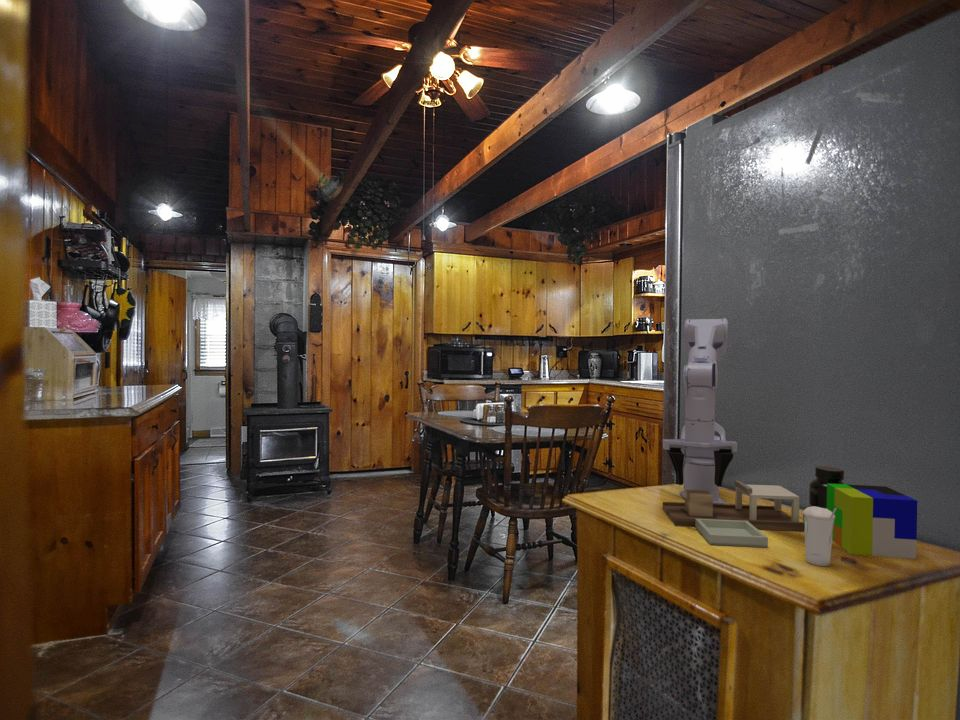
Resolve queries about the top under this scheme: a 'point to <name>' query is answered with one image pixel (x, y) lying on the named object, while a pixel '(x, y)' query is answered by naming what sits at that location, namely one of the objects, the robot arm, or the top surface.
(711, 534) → the sage tray
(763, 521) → the board
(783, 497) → the cover
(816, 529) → the milkshake
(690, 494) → the maple block
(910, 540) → the puzzle toy
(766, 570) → the top surface
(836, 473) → the supplement bottle
